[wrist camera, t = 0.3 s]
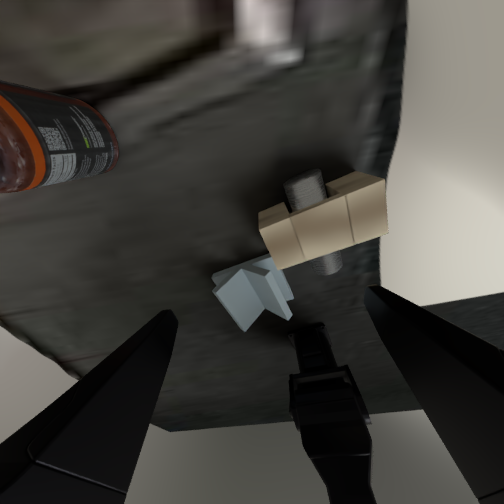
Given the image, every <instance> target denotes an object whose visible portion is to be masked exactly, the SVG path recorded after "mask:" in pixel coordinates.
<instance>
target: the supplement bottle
mask: <svg viewBox="0 0 504 504" xmlns="http://www.w3.org/2000/svg"><path fill="white" fill-rule="evenodd" d="M118 157H119V148H118V142H117V139H116V136H115V134H114V132H113V130H112V128H111V127H110V125H109V123H108V122H107V121H106V120H105V118H104V117H103V116H102V115H101V114H100V113H99V112H98V111H96V110H95V109H94V108H93V107H91V106H90V105H88V104H87V103H85V102H83V101H81V100H79V99H75V98H72V97H69V96H65V95H60V94H57V93H52V92H48V91H43V90H39V89H35V88H31V87H27V86H23V85H18V84H14V83H9V82H5V81H1V80H0V193H11V192H18V191H23V190H28V189H33V188H38V187H42V186H47V185H52V184H56V183H61V182H65V181H70V180H75V179H80V178H84V177H89V176H93V175H98V174H102V173H105V172H108V171H110V170H111V169H112V168H113V167H114V166H115V165H116V163H117V161H118Z"/></svg>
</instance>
